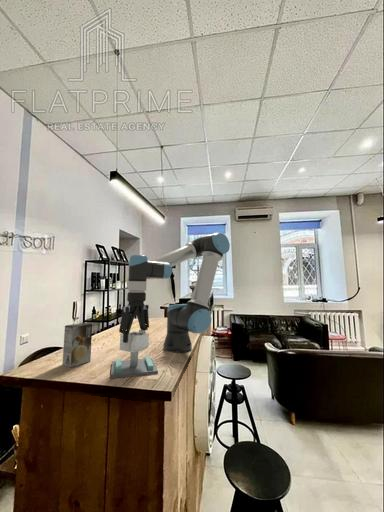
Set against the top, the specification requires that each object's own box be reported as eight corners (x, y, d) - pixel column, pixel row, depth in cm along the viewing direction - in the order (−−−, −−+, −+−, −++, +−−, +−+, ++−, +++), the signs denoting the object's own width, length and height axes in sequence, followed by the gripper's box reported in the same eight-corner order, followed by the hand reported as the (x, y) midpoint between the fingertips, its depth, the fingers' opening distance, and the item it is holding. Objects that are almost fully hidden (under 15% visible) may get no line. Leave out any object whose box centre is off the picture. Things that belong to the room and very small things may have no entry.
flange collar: (133, 345, 99) (134, 330, 100) (148, 348, 95) (148, 332, 96) (119, 349, 92) (120, 333, 93) (134, 352, 88) (135, 336, 89)
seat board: (152, 360, 103) (153, 337, 104) (158, 373, 88) (158, 346, 89) (112, 363, 98) (113, 339, 99) (110, 378, 83) (112, 349, 84)
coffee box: (82, 359, 104) (84, 322, 106) (90, 361, 100) (93, 323, 102) (61, 364, 96) (64, 325, 98) (70, 367, 93) (73, 326, 95)
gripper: (145, 291, 107) (143, 342, 104) (111, 291, 89) (107, 353, 86) (158, 291, 104) (156, 344, 101) (125, 292, 86) (122, 356, 83)
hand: (134, 348), depth 94 cm, fingers closed on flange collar, 8 cm apart
